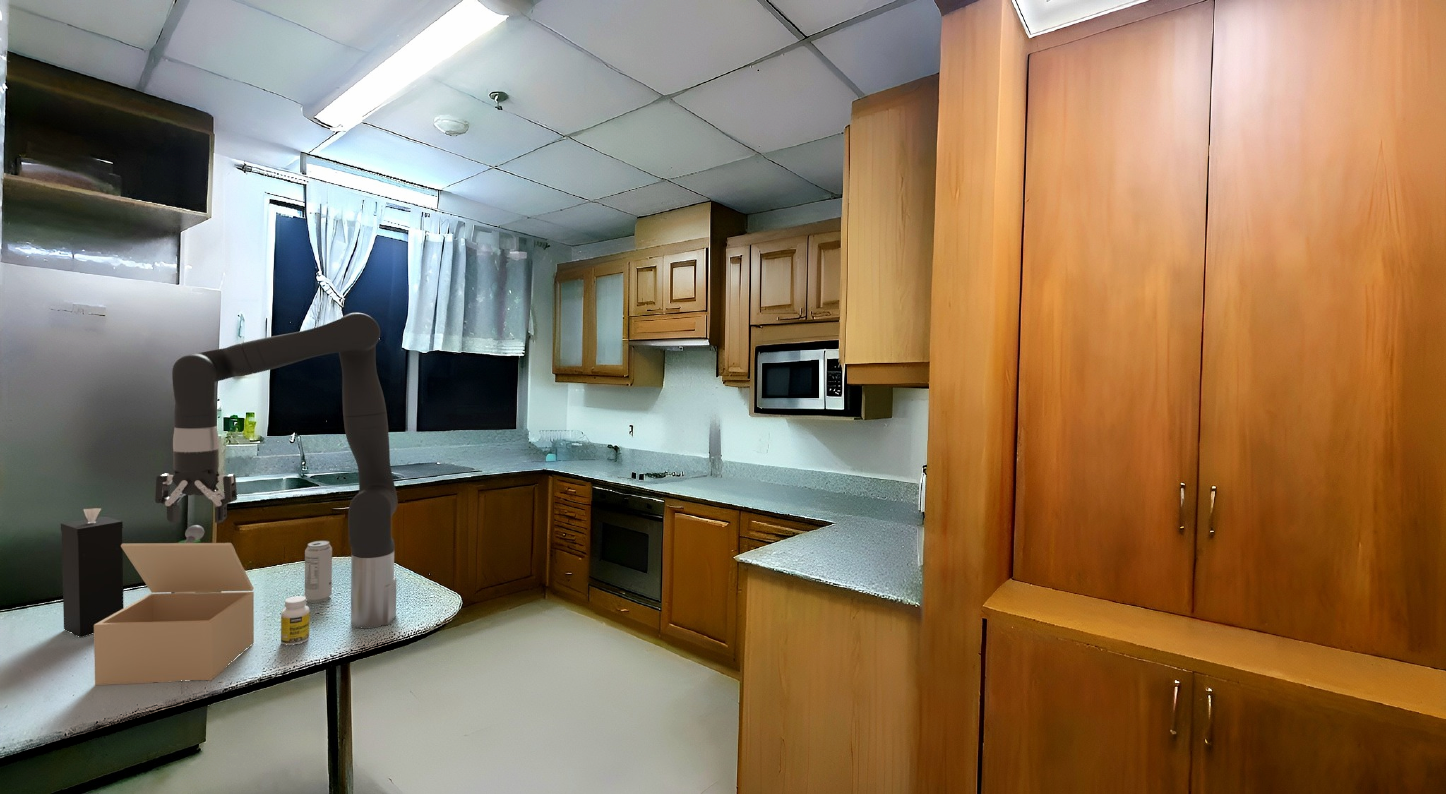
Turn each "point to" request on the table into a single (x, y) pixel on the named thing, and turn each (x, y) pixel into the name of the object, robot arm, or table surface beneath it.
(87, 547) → the tall black box
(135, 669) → the carton
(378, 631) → the table surface
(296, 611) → the supplement bottle
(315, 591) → the energy drink can
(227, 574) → the flap
